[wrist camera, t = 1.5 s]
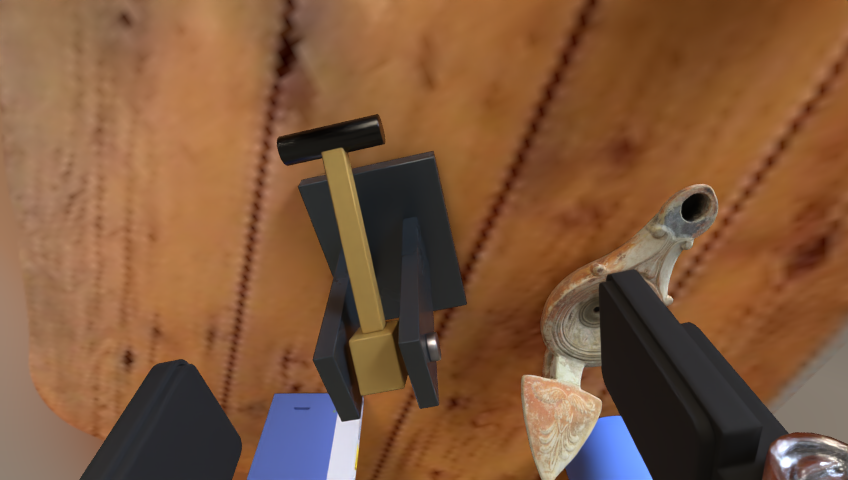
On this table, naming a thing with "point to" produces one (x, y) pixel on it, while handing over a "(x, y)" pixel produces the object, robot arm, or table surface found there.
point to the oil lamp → (580, 327)
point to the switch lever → (354, 246)
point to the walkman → (306, 441)
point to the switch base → (388, 272)
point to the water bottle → (608, 454)
